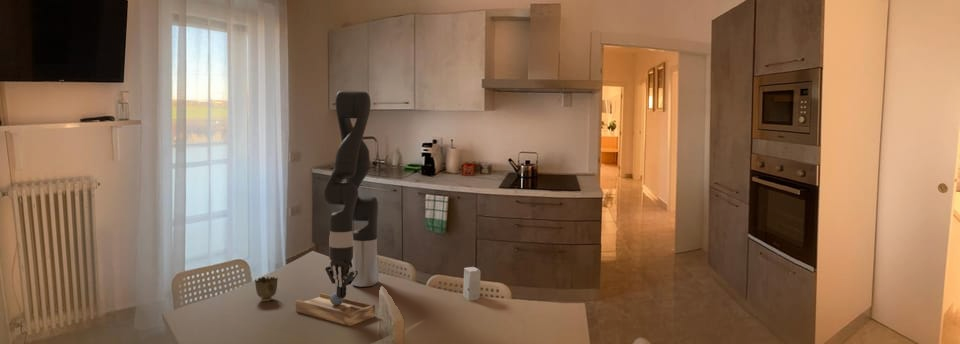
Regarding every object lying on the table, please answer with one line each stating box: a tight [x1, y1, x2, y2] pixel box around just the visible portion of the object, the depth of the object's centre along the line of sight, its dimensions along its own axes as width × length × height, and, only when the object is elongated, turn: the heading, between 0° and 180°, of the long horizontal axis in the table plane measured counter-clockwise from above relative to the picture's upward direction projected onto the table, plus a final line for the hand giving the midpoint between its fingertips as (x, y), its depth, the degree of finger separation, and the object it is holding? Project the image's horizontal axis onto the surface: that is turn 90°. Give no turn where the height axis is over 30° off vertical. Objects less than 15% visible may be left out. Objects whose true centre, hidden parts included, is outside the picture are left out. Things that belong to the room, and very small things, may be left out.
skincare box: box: [462, 266, 482, 302], centre depth 192 cm, size 6×4×12 cm
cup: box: [254, 276, 279, 303], centre depth 190 cm, size 8×7×8 cm
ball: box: [330, 291, 345, 305], centre depth 179 cm, size 4×4×4 cm
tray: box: [295, 292, 376, 327], centre depth 178 cm, size 11×25×4 cm, turn 58°
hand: (341, 297), depth 176 cm, fingers closed
